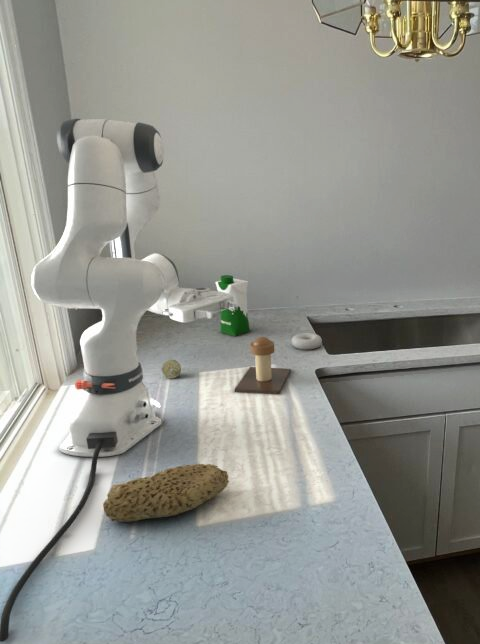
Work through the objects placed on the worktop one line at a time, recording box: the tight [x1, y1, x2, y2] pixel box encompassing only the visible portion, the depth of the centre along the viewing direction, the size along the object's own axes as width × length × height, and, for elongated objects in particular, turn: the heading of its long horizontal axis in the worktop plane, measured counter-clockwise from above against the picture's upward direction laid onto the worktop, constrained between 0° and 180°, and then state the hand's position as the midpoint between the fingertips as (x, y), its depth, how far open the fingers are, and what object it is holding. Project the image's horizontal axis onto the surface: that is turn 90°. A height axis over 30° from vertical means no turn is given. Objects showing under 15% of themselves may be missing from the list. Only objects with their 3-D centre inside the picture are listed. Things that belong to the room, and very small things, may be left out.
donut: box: [291, 332, 323, 351], centre depth 183 cm, size 10×4×10 cm
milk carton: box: [215, 274, 251, 337], centre depth 191 cm, size 9×9×20 cm
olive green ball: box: [161, 359, 182, 379], centre depth 156 cm, size 4×5×5 cm
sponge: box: [102, 463, 230, 523], centre depth 101 cm, size 13×8×20 cm
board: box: [234, 366, 292, 395], centre depth 156 cm, size 16×12×1 cm
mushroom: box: [249, 336, 275, 381], centre depth 154 cm, size 6×6×12 cm
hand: (224, 311), depth 154 cm, fingers open, 8 cm apart
